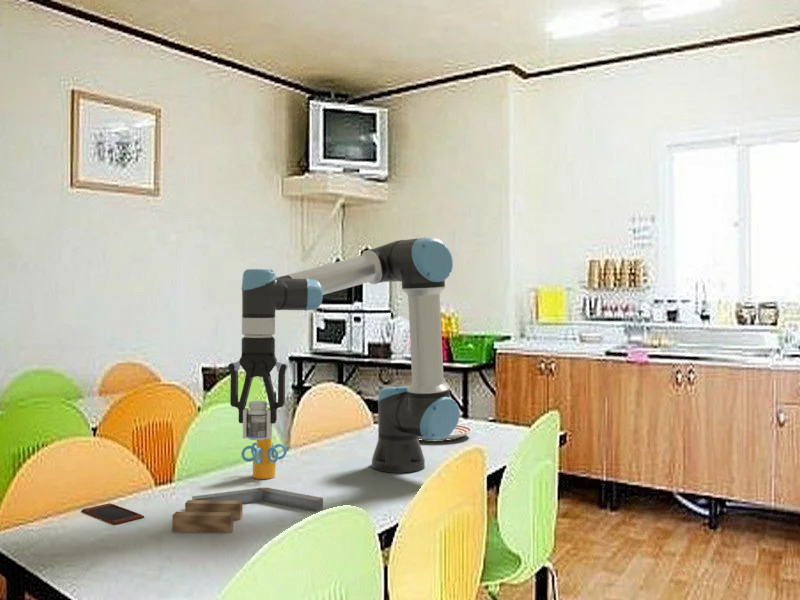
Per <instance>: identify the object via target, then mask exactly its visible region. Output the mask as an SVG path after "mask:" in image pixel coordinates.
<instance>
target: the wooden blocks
mask: <svg viewBox="0 0 800 600" xmlns="http://www.w3.org/2000/svg"><path fill="white" fill-rule="evenodd" d="M171 517H172V520H171V522H172V526H171V527H172V528H171V529H172V533H203V534H205V533H209V534H210V533H211V534H212V533H213V534H215V533H216V534H222V533H223V534H230V533H231V532H232V531H233V529H234V521H240V520H241V519H242V518H243V504H242V501H227V500H192V499H188V500H187V501H186V502H185V503H184V511H175V512H174V513H173V514H172V515H171Z"/></svg>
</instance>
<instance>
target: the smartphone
mask: <svg viewBox="0 0 800 600" xmlns="http://www.w3.org/2000/svg"><path fill="white" fill-rule="evenodd" d="M81 513H84V514H86V515H87V516H91V517H92V518H96V519H98V520H100V519H101V521H103V522H105V523H108V524H110V525H113V526H118V525H122V524H126V523H130V522H131V523H132V522H135V521H139V520H142V519H145V515H143V514H141V513H138V512H135V511H133V510H131V509H127V508H124V507H122V506H119V505H116V504H114V503H111V502H109V503H104V504H100V505H94V506H90V507H86V508H83V509H81Z"/></svg>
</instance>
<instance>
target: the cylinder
mask: <svg viewBox="0 0 800 600" xmlns="http://www.w3.org/2000/svg"><path fill="white" fill-rule="evenodd" d="M277 448H282V449H283V453H282V455H280V456H279V451H278V449H277ZM249 449H250V453H251V455H252V457H251V458H248V457H246V456H245V452H246V451H247V450H249ZM287 451H288V449H287V447H286V445H284V444H283V443H276V444H275V445H274V443H273V436H272V437H271V438H270V439H264V440H256V442H253V443H252V444H251V445H246V446H245V447H244V448H242V451H241V458H242V460H244V461H245V462H252V477H253V478H254V479H257V480H269V479H273V478H275V476H276V463H277V462H278V460H282V459H284V458H285V457H286V455H287Z"/></svg>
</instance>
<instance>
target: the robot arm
mask: <svg viewBox="0 0 800 600" xmlns="http://www.w3.org/2000/svg"><path fill="white" fill-rule="evenodd" d="M452 271H453V255H452V253H451V251H450V249H449V247H448V246H447V245H446V244H445V243H444V242H443V241H442V240H441V239H437V238H436V237H435V238H434V237H420V238H419V237H418V238H410V239H398V240H395V241H391V242H389V243H386V244H383V245H380V246H377V247H374V248H371V249H368V250H364V251H363V252H362V253H361V255H359V256H355V257H351V258H348V259H343V260H340V261H335V262H332V263H327V264H324V265H321V266H315V267H312V268H308V269H305V270H300V271H297V272H293V273H290V274H286V275H281V276H277V275H276V271H275V270H274V269H270V268H269V269H268V268H266V269H265V268H248V269H246V270H244V271H243V273H242V280H241V282H242V283H241V299H242V300H241V302H242V303H241V306H242V307H241V310H242V311H241V313H242V314H241V315H242V316H241V335H243V337H242V338H241V356H240V358H239V360H238V361H235V362H231V363H229V364H228V365H227V368H228V371H229V374H230V391H229V392H230V395H229V396H230V400H229V401H230V407H234V408H236V409H238V423H239V424H242V439H248V437H247V425H248V424H247V422H248V419H247V418H248V416H247V414H248V411H249V410H250V409H249V407H247V403H248V402H247V401H248V399H249V394H250V389H251V386H252V382H253V380H254V378H255V377H259V378H262V380H263V383H264V387H265V388H264V389H265V392H266V396H267V401H268V404H269V408H268V409H266V410H267V439H270V438H271V437H272V438H273V424H276V423H277V418H278V415H277V414H278V412H277V411H278V409H279V408H282V407H284V405H285V403H286V372H287V370H288V367H289V364H288V363H284V362H280V361H278V360H277V357H276V338H275V337H273V336H274V335H275V334H276V311H305V312H307V311H315V310H317V309H319V308H320V306H321V304H322V302H323V296H324V295H327V294H332V293H334V292H338V291H342V290H345V289H349V288H352V287H357V286H360V285H363V284H367V283H369V284H372V285H377V284H379V283H380V284H381V283H387V282H391V283H392V282H399V283H401V290H402V291H403V292H404V293H405V294H406V295H407V301H408V303H407V304H408V321H409V324H408V325H409V343H410V345H409V346H410V347H409V348H410V363H411V384H410V385H408V386H407V385H405V386H403V385H402V386H391V387H383V388H380V390H379V392H378V400H377V404H378V405H377V408H378V409H377V410H378V411H377V412H378V413H377V414H378V417H377V418H378V419H377V420H378V425H377V428H378V429H377V430H378V431H377V432H378V436H377V437H378V438H377V441H376V442H377V443H376V445H375V449H374V451H373V455H372V457H371V468H373V469H374V470H376V471H380V472H384V473H385V472H386V473H397V474H398V473H401V474H402V473H412V472H418V471H421V470H423V469H424V468H425V457H424V453H423V450H422V446H421V444H420V441H419V436H421V437H424V438H426V439H435V440H441V439H444V438H446V437H448V436H449V435H450V434H451V433H452V432H453V430H454V429H455V428H456V426H457V425H459V420H460V407H459V405H458V403H457V402H456V400H454V399H453V398H451V391H450V386H449V385H447V383H445V381H444V379H445V378H444V362H443V361H444V360H443V341H442V339H443V337H442V336H443V335H442V320H441V319H442V317H441V314H442V313H441V295H440V294H441V293H442V292H443V290H444V289H445V288H446V280H447V279H448V278H449V276H450V274H451V273H452ZM240 366H241V368H242V369H243V370H244V372H245V375H244V376H245V377H244V381H243V387H242V391H241V393H240V399H239V371H240V370H241V369H240ZM274 368H276V371H277V372H278V374H277V399H276V395H275V390H274V387H273V381H272V376H271V372H272V370H273V369H274Z"/></svg>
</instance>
